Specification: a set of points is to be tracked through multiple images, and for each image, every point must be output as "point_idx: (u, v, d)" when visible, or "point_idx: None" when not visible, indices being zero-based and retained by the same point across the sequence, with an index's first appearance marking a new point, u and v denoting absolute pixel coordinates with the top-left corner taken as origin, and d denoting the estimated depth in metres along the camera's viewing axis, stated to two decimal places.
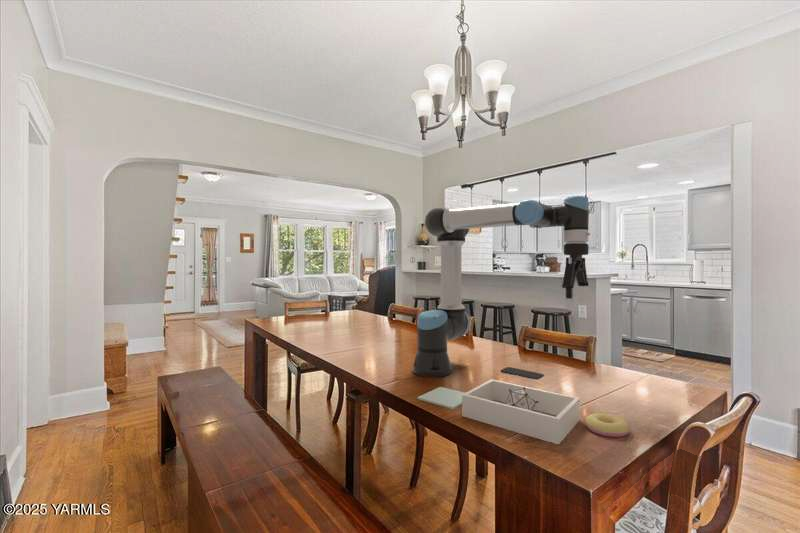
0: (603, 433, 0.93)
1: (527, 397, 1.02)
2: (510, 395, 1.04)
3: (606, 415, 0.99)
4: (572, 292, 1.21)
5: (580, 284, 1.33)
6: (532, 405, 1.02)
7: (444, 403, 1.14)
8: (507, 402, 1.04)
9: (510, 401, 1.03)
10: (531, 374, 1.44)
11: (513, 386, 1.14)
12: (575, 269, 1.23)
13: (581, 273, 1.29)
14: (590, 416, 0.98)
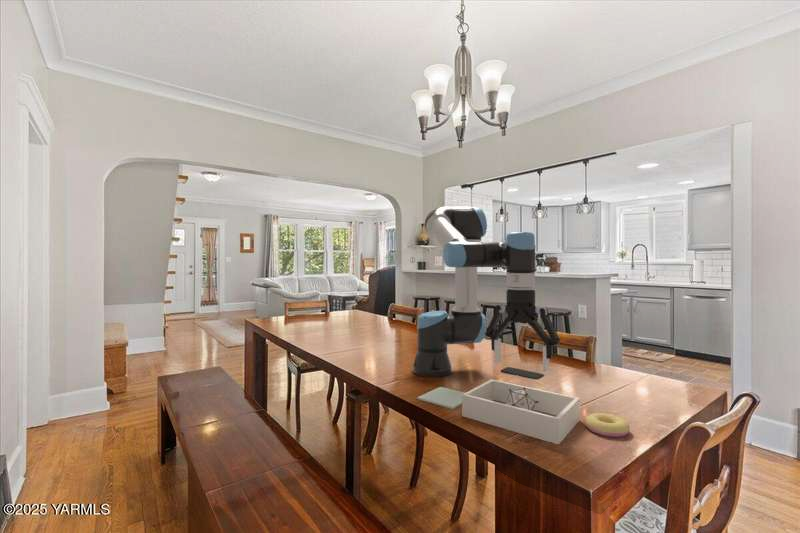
0: (602, 433, 0.93)
1: (527, 397, 1.02)
2: (510, 395, 1.04)
3: (606, 415, 0.99)
4: None
5: None
6: (532, 405, 1.02)
7: (444, 403, 1.14)
8: (507, 402, 1.04)
9: (510, 401, 1.03)
10: (531, 374, 1.44)
11: (513, 386, 1.14)
12: None
13: None
14: (590, 416, 0.98)
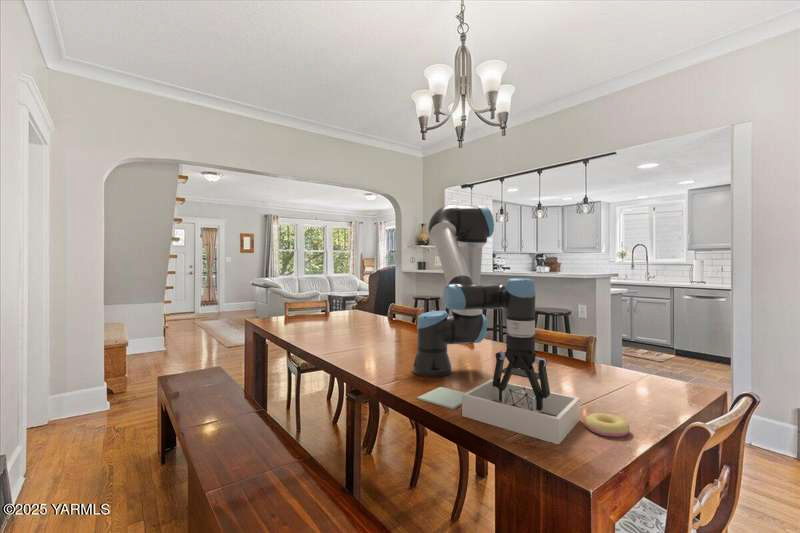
0: (602, 433, 0.93)
1: (527, 397, 1.02)
2: (510, 395, 1.04)
3: (606, 415, 0.99)
4: (502, 395, 1.07)
5: None
6: (532, 405, 1.02)
7: (444, 403, 1.14)
8: (507, 402, 1.04)
9: (511, 401, 1.03)
10: None
11: (513, 386, 1.14)
12: None
13: None
14: (590, 416, 0.98)
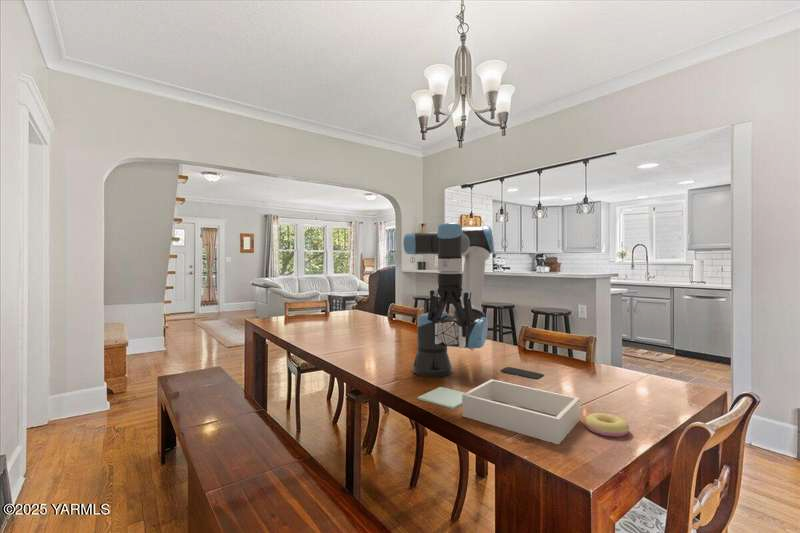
0: (602, 433, 0.93)
1: (455, 326, 1.17)
2: (441, 326, 1.19)
3: (605, 415, 0.99)
4: (435, 327, 1.21)
5: None
6: None
7: (444, 403, 1.14)
8: (439, 332, 1.19)
9: (441, 330, 1.18)
10: (531, 374, 1.44)
11: (513, 386, 1.14)
12: None
13: None
14: (590, 416, 0.98)
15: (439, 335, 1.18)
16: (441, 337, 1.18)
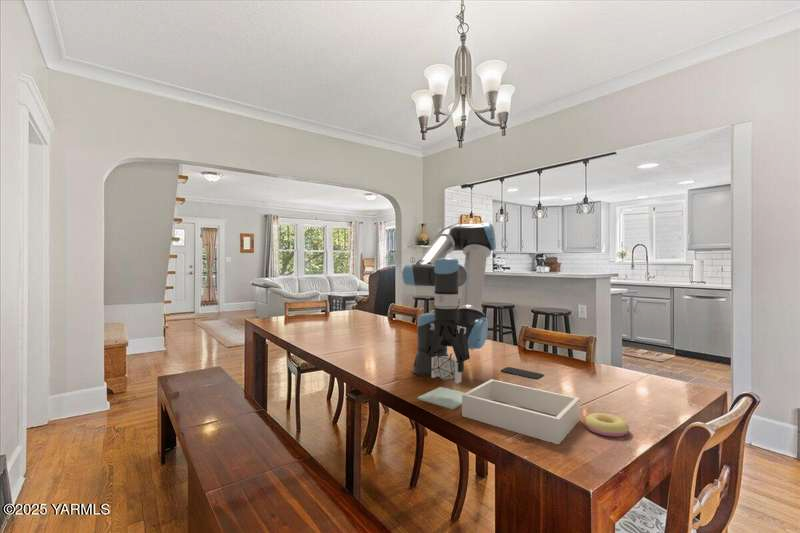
0: (602, 433, 0.93)
1: (451, 361, 1.17)
2: (437, 360, 1.19)
3: (605, 415, 0.99)
4: (431, 360, 1.22)
5: None
6: None
7: (444, 403, 1.14)
8: (435, 366, 1.19)
9: (437, 365, 1.18)
10: (531, 374, 1.44)
11: (513, 386, 1.14)
12: None
13: None
14: (589, 416, 0.98)
15: (435, 369, 1.19)
16: (437, 371, 1.18)
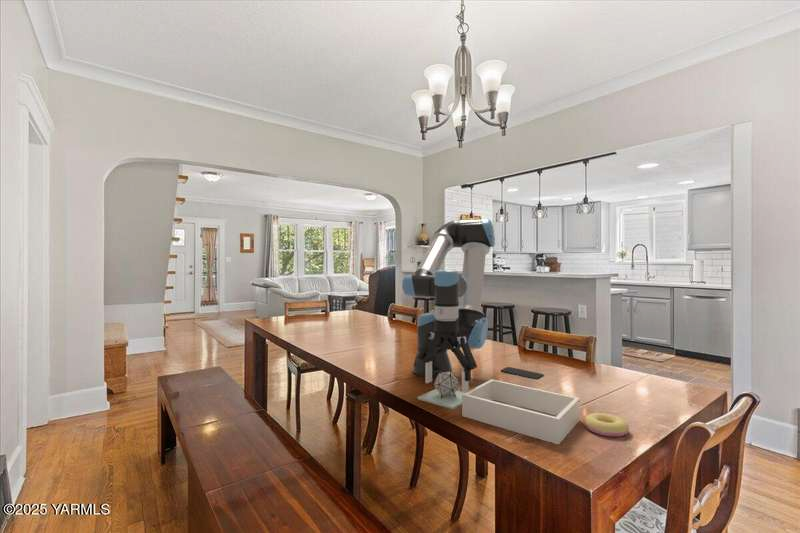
0: (602, 433, 0.93)
1: (451, 377, 1.17)
2: (437, 376, 1.19)
3: (605, 415, 0.99)
4: None
5: None
6: (455, 384, 1.17)
7: (444, 403, 1.14)
8: (435, 382, 1.20)
9: (437, 381, 1.18)
10: (531, 374, 1.44)
11: (513, 386, 1.14)
12: None
13: None
14: (589, 416, 0.98)
15: (435, 385, 1.19)
16: (437, 388, 1.18)
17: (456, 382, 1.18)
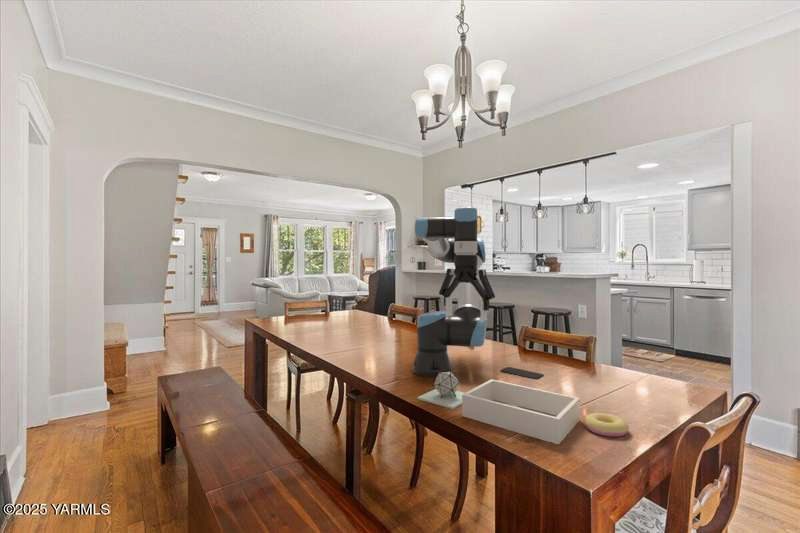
0: (602, 433, 0.93)
1: (451, 377, 1.17)
2: (437, 376, 1.19)
3: (604, 415, 0.99)
4: (446, 301, 1.30)
5: None
6: (455, 384, 1.17)
7: (444, 403, 1.14)
8: (435, 382, 1.20)
9: (437, 381, 1.18)
10: (531, 374, 1.44)
11: (513, 386, 1.14)
12: None
13: None
14: (589, 416, 0.98)
15: (435, 385, 1.19)
16: (437, 388, 1.18)
17: (456, 382, 1.18)
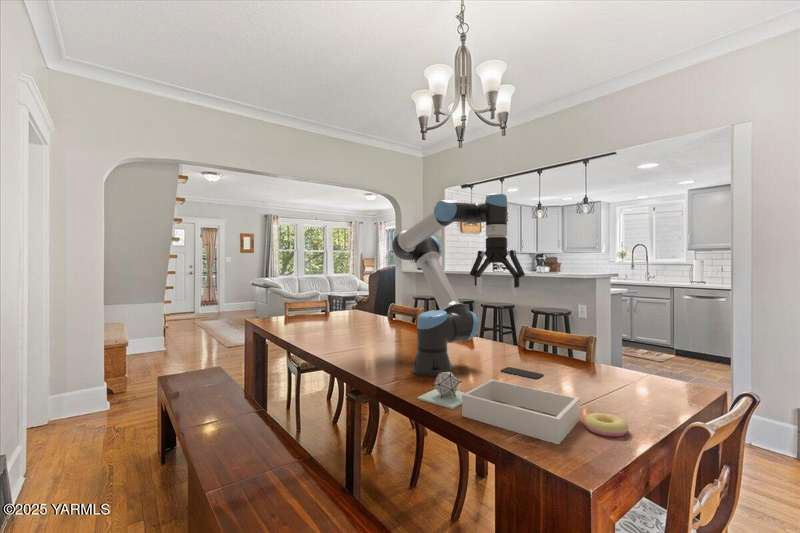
0: (602, 433, 0.93)
1: (451, 377, 1.17)
2: (437, 376, 1.19)
3: (604, 415, 0.99)
4: (476, 280, 1.41)
5: None
6: (455, 384, 1.17)
7: (444, 403, 1.14)
8: (435, 382, 1.20)
9: (437, 381, 1.18)
10: (531, 374, 1.44)
11: (513, 386, 1.14)
12: None
13: None
14: (589, 416, 0.98)
15: (435, 385, 1.19)
16: (437, 388, 1.18)
17: (456, 382, 1.18)
